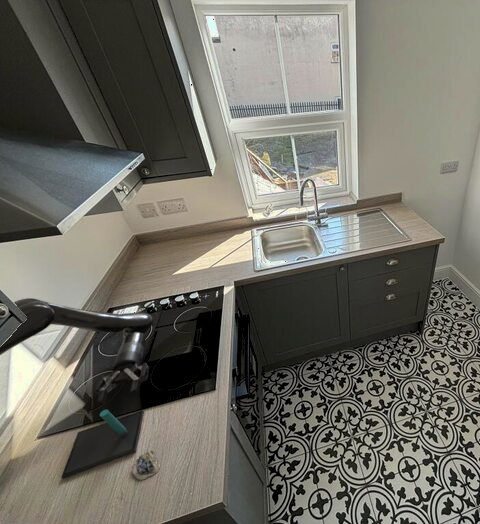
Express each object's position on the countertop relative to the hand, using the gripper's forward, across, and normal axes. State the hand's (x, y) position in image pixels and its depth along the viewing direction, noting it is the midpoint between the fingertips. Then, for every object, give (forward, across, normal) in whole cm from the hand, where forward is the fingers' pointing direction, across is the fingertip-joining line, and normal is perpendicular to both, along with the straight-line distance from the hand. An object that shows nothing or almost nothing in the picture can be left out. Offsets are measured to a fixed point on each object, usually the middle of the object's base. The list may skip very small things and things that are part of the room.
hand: (117, 398), depth 90 cm
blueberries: (+20, +8, +9) cm, 23 cm away
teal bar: (+7, 0, +8) cm, 11 cm away
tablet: (+8, -5, +9) cm, 13 cm away
